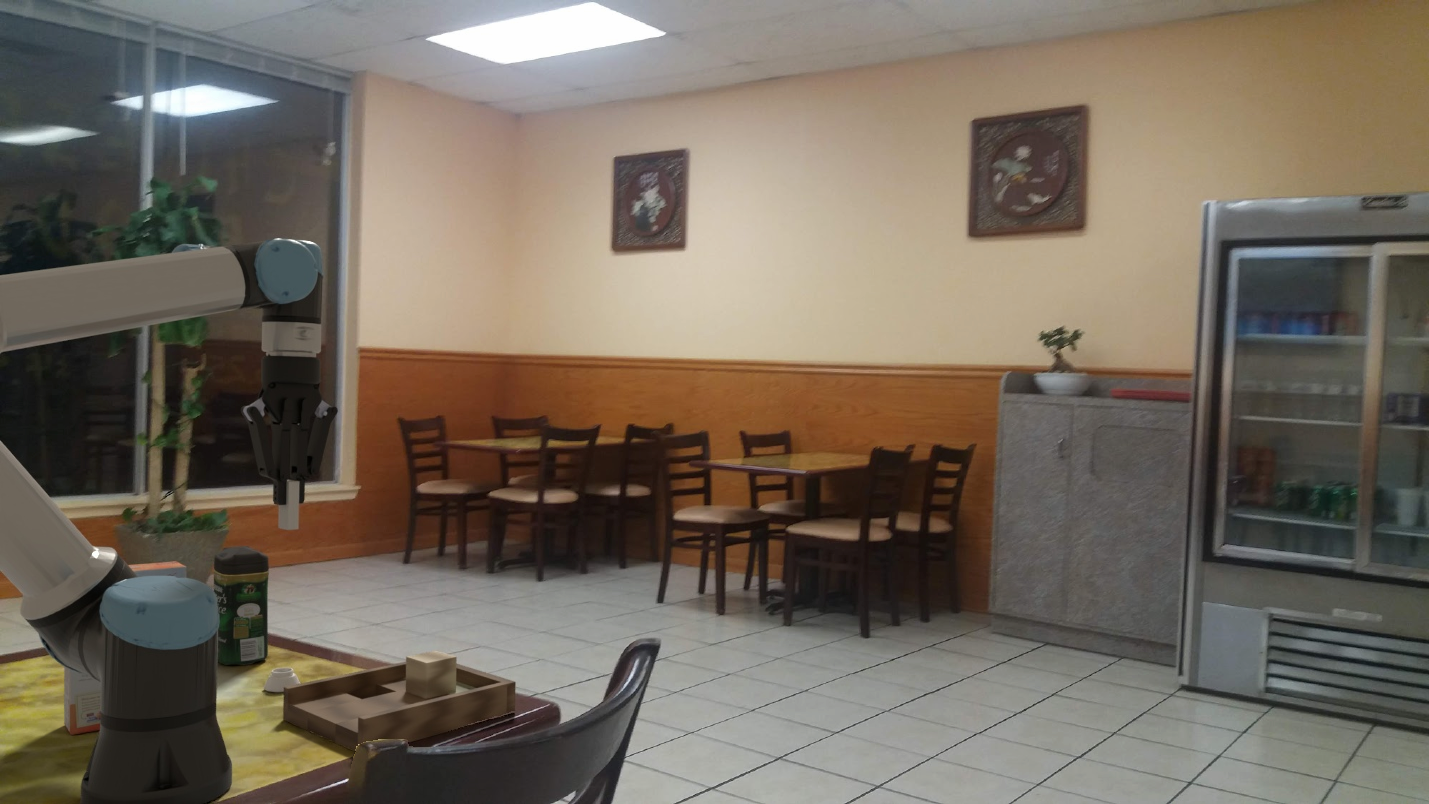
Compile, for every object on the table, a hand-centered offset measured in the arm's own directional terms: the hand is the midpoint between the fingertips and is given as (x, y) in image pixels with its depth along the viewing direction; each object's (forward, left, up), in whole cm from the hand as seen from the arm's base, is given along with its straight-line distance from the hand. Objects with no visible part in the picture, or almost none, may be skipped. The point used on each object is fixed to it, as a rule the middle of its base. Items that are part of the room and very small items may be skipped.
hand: (288, 528), depth 146 cm
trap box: (+6, -13, -26) cm, 30 cm away
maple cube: (+11, -16, -24) cm, 31 cm away
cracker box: (-6, +20, -27) cm, 34 cm away
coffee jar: (+26, +26, -27) cm, 45 cm away
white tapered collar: (+13, +10, -27) cm, 32 cm away
